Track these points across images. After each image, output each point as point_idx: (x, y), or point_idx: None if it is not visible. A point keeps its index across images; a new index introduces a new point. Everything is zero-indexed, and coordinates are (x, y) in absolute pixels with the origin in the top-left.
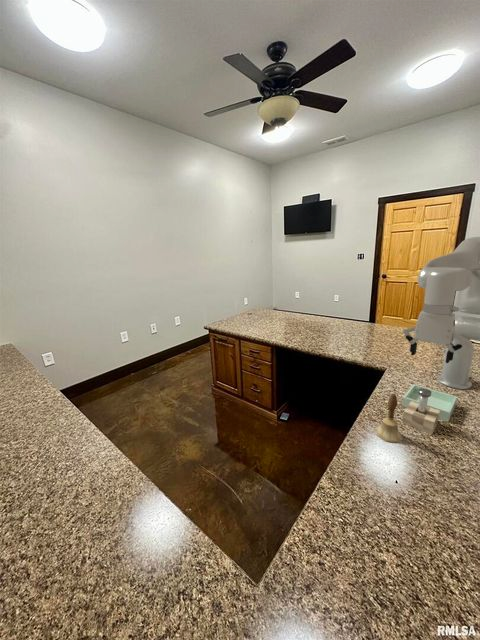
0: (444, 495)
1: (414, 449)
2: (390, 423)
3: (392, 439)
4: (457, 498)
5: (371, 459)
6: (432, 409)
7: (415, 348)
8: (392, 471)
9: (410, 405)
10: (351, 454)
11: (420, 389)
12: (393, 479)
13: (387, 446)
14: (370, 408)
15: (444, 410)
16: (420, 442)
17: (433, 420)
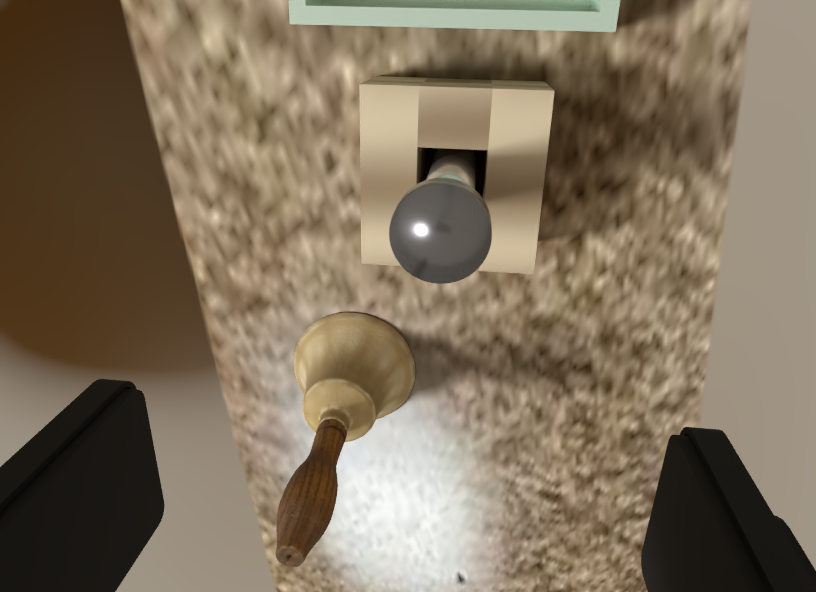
0: (600, 553)
1: (476, 399)
2: (347, 436)
3: (383, 414)
4: (637, 544)
5: (360, 537)
6: (507, 112)
7: (83, 548)
8: (438, 548)
9: (373, 158)
10: None
11: (403, 231)
12: (450, 575)
13: (380, 444)
14: (186, 200)
15: (579, 23)
16: (489, 337)
17: (529, 252)
